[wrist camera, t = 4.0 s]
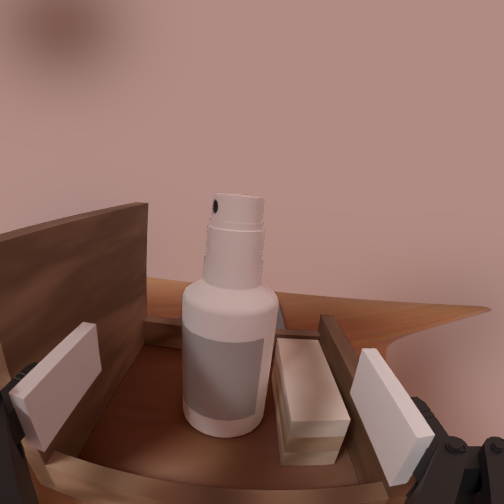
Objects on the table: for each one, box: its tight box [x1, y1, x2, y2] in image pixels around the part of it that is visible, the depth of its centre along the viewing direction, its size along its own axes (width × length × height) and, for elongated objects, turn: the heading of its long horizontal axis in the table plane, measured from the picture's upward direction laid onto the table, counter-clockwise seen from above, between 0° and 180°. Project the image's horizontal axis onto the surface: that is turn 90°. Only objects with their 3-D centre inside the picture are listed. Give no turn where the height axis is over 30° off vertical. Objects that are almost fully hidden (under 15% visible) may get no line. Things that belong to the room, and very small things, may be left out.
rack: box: [0, 202, 416, 504], centre depth 23 cm, size 23×24×16 cm
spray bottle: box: [182, 193, 279, 438], centre depth 23 cm, size 7×7×18 cm
